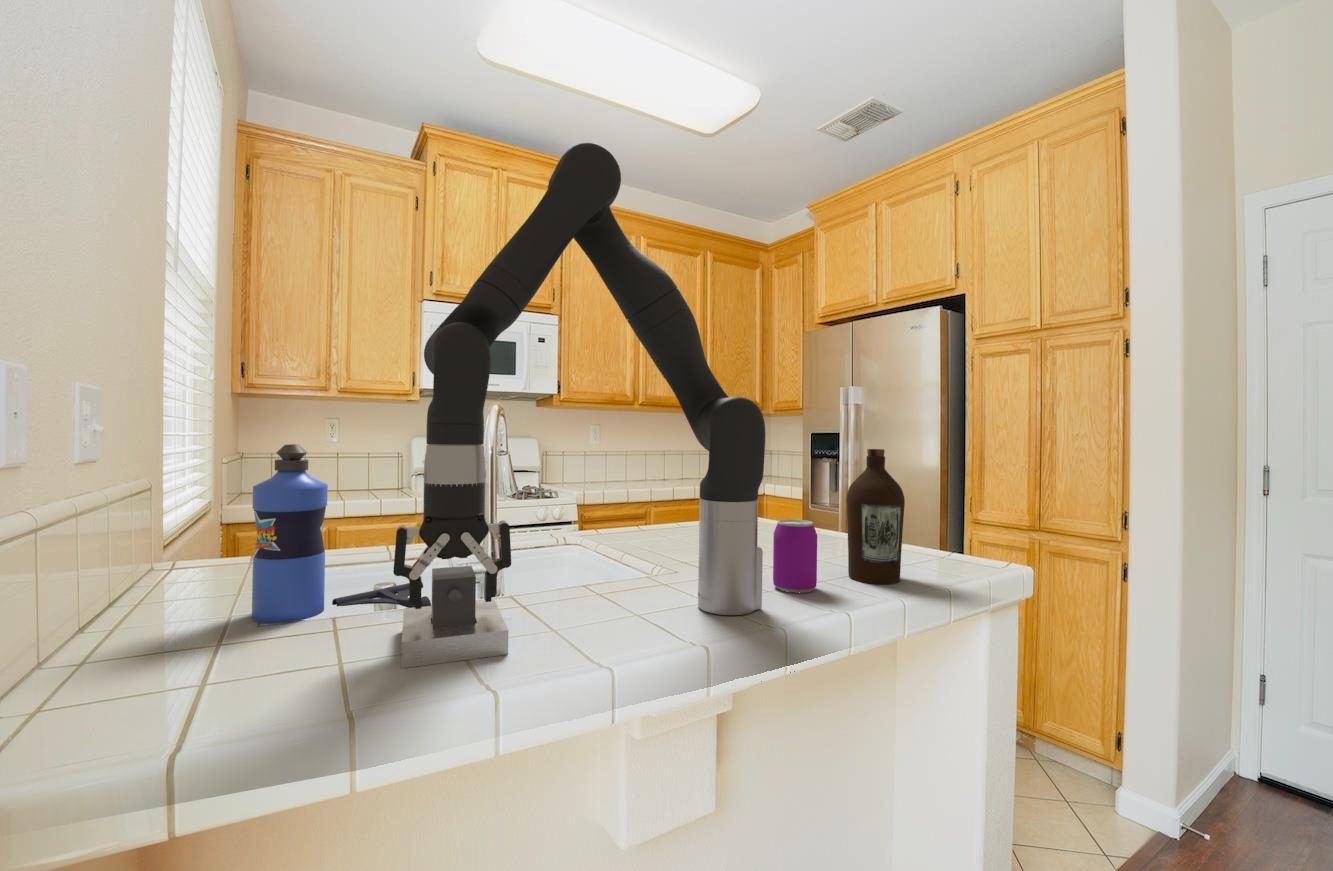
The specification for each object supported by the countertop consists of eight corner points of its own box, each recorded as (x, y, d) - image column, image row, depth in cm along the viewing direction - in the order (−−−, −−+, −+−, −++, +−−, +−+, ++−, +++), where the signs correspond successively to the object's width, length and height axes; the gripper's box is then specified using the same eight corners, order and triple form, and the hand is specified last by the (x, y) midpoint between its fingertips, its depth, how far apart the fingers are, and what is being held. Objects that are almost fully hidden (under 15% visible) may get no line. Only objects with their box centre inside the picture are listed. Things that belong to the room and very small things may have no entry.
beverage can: (796, 596, 101) (797, 526, 101) (763, 587, 107) (764, 520, 107) (825, 590, 105) (826, 522, 105) (792, 581, 111) (793, 517, 111)
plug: (470, 624, 81) (471, 565, 81) (476, 643, 74) (476, 579, 74) (431, 628, 79) (432, 568, 79) (432, 648, 72) (433, 582, 72)
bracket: (380, 628, 84) (380, 609, 84) (331, 608, 93) (332, 590, 93) (468, 606, 95) (469, 589, 95) (418, 590, 104) (418, 574, 104)
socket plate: (494, 620, 86) (494, 599, 86) (508, 654, 73) (508, 630, 73) (403, 630, 81) (403, 608, 81) (401, 668, 68) (401, 642, 68)
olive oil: (839, 571, 120) (841, 448, 120) (892, 572, 120) (894, 448, 119) (853, 584, 109) (855, 449, 109) (911, 586, 109) (914, 450, 109)
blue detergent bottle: (271, 628, 81) (274, 446, 81) (237, 615, 86) (240, 443, 86) (338, 611, 89) (341, 445, 89) (304, 600, 94) (307, 443, 94)
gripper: (507, 476, 83) (505, 591, 83) (395, 478, 78) (394, 601, 78) (515, 480, 76) (513, 606, 76) (393, 482, 71) (392, 618, 71)
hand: (453, 604), depth 77 cm, fingers open, 8 cm apart
